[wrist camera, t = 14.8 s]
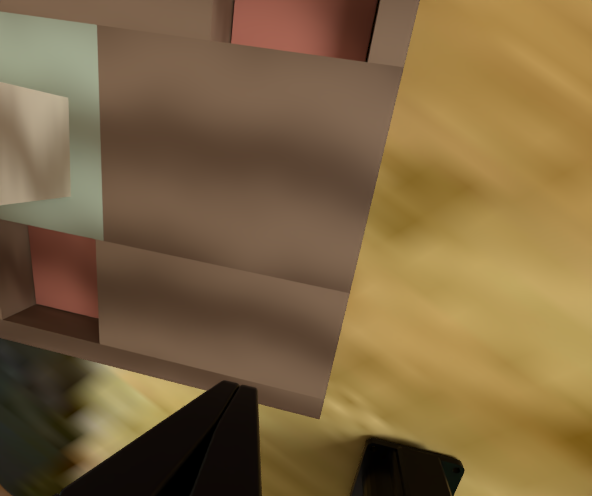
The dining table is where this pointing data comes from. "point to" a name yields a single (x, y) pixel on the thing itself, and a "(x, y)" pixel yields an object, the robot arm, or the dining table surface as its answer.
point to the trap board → (202, 183)
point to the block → (33, 145)
